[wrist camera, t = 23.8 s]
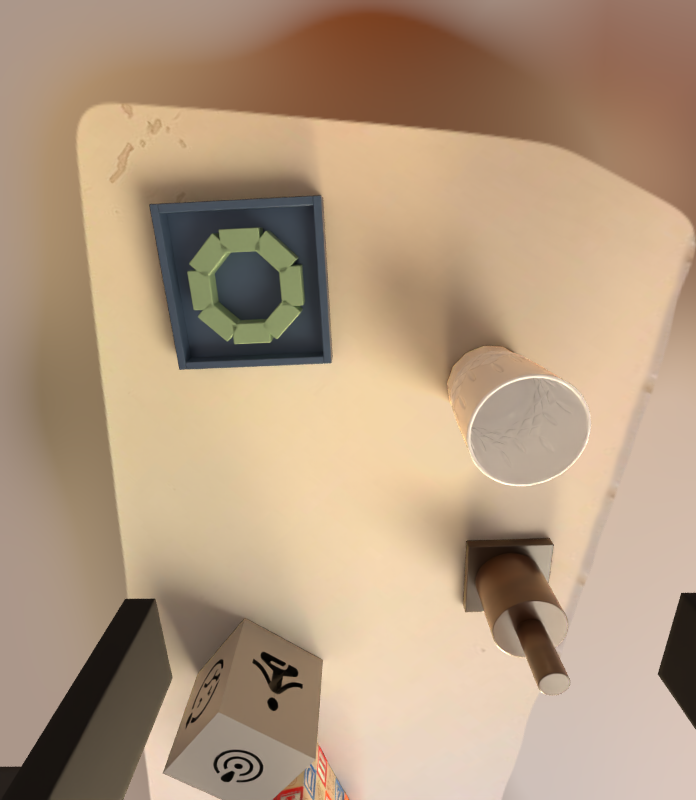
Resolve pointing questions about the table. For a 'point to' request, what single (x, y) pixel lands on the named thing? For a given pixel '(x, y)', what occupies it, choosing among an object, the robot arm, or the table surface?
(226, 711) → the icon cube
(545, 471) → the white cup
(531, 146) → the table surface
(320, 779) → the stack of blocks
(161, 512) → the table surface
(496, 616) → the peg stand
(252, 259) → the tray
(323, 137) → the table surface
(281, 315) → the ring
